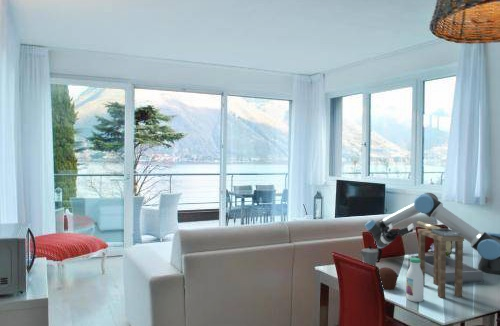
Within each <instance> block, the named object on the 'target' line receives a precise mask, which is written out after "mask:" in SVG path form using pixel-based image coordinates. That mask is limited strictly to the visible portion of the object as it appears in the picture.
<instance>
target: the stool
mask: <svg viewBox="0 0 500 326" xmlns="http://www.w3.org/2000/svg"><path fill="white" fill-rule="evenodd" d="M417 234H418V237H417V238H418V239H417V241H418V242H417V245H418V246H417V248H418V249H417V256H418V258H419V259H420V268H421V270H422V273H423V278H424V286H425V279H426V278H425V274H426V273H425V256H426V237H427V238H431V239H433V244H434V272H433V277H432V278H433V279H432V281H433V282H432V283H433V284H434V285H435V286H437V297H438V298H441V299H445V298H446V284H445V279H446V241H452V242H455V244H454V246H455V249H454V250H455V251H454V260H455V283H454V296H455V297H456V298H463V283H462V276H463V263H464V261H463V260H464V241H465V239H464V237H463V236H460V237H442V236H439V235H436V234H433V233H431V230H429V229H426V228H417Z"/></svg>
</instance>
